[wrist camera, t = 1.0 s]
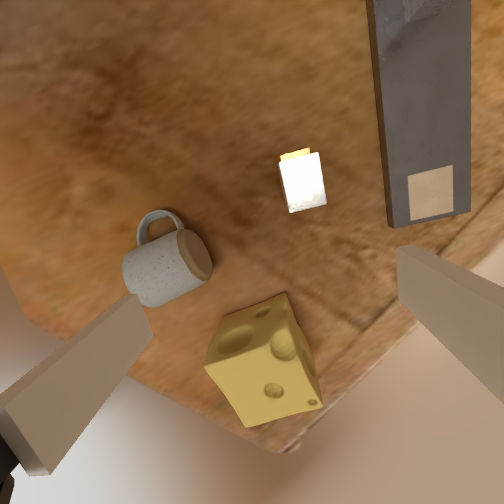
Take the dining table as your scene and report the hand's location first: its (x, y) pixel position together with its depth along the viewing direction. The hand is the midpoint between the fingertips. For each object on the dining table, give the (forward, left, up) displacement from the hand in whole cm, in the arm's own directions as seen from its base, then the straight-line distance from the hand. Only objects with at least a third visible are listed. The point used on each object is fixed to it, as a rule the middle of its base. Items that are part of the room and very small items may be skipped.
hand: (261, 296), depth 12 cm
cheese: (+16, -4, -19) cm, 25 cm away
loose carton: (-4, +4, -19) cm, 20 cm away
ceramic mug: (0, -13, -19) cm, 23 cm away
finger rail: (-8, +18, -19) cm, 28 cm away
